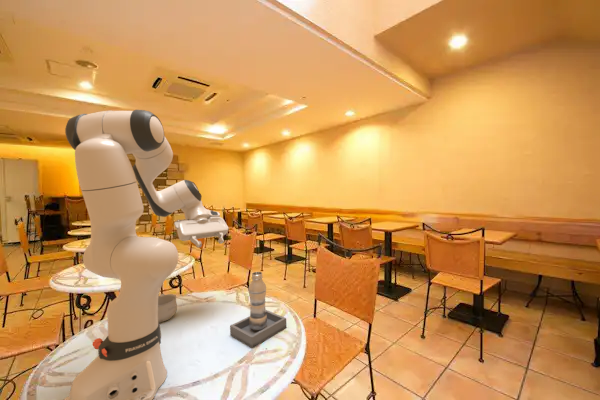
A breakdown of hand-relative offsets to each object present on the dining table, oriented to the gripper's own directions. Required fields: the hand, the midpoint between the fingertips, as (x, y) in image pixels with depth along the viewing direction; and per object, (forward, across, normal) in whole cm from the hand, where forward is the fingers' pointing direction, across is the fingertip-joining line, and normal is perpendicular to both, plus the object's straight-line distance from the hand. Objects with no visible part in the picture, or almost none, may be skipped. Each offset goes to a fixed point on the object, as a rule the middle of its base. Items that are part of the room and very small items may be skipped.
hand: (211, 244), depth 100 cm
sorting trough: (+36, +6, +7) cm, 37 cm away
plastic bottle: (+35, +6, +6) cm, 36 cm away
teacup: (+8, -11, +35) cm, 38 cm away
